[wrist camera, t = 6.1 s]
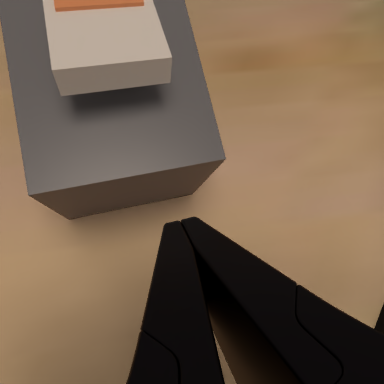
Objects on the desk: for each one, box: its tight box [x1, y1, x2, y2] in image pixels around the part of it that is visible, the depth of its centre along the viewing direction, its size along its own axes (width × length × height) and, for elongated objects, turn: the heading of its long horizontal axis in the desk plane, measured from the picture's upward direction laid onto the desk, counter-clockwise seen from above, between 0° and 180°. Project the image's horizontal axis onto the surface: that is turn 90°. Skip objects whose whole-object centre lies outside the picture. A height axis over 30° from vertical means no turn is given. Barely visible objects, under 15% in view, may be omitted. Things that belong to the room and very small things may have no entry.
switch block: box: [0, 0, 226, 219], centre depth 18 cm, size 20×8×8 cm, turn 14°
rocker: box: [43, 0, 172, 96], centre depth 12 cm, size 5×4×1 cm
